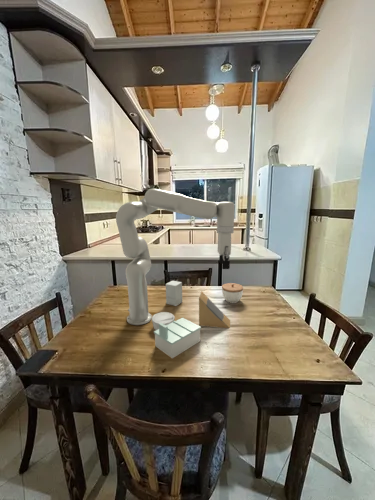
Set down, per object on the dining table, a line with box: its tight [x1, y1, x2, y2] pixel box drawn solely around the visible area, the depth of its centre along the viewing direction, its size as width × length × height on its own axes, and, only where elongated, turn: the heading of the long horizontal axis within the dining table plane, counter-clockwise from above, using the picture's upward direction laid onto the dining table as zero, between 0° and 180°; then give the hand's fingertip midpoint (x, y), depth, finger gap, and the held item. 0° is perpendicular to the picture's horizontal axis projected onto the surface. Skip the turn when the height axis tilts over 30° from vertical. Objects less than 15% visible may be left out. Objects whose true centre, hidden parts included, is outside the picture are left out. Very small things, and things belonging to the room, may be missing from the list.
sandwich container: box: [198, 291, 231, 329], centre depth 115 cm, size 9×15×15 cm, turn 79°
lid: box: [153, 317, 202, 345], centre depth 98 cm, size 12×17×6 cm
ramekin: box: [151, 311, 176, 331], centre depth 112 cm, size 11×11×5 cm
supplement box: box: [165, 280, 183, 307], centre depth 138 cm, size 7×7×13 cm
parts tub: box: [154, 329, 201, 359], centre depth 99 cm, size 11×16×6 cm
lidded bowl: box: [221, 282, 244, 304], centre depth 141 cm, size 13×13×11 cm
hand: (224, 265), depth 108 cm, fingers open, 9 cm apart
